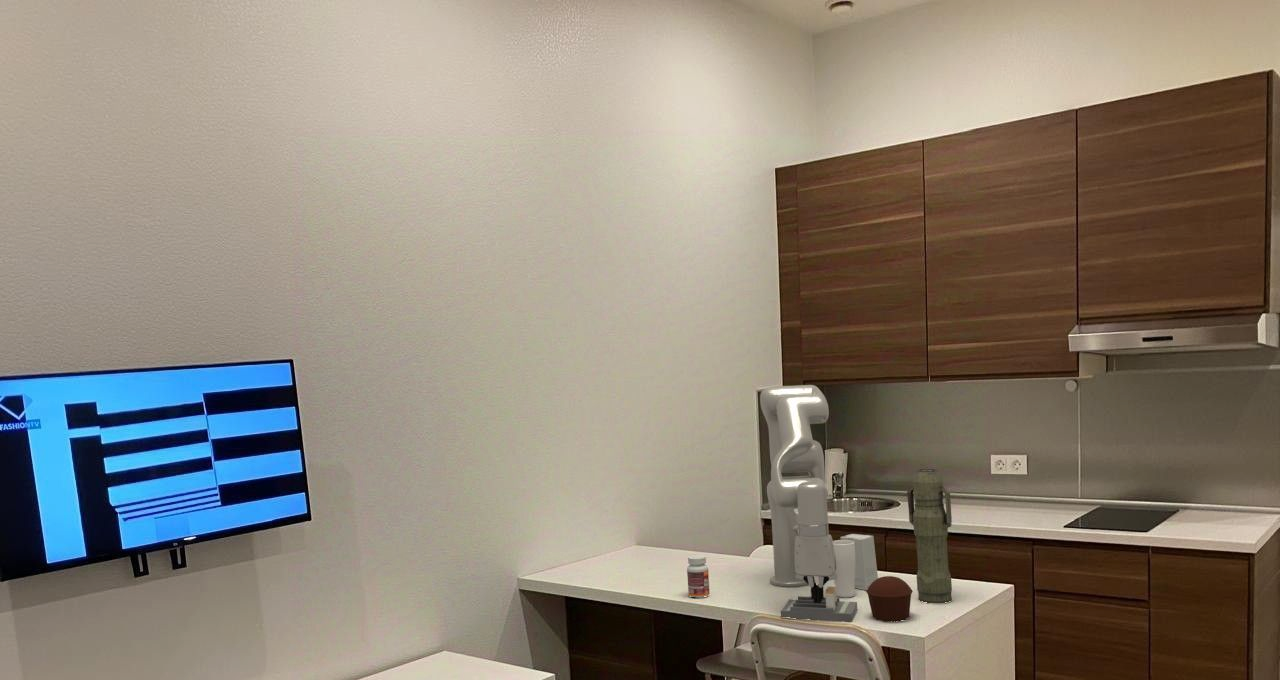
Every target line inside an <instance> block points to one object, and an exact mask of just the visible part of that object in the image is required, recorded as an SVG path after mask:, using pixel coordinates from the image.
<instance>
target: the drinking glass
mask: <svg viewBox="0 0 1280 680" xmlns="http://www.w3.org/2000/svg"><path fill="white" fill-rule="evenodd" d="M833 545H834V551H835V558H836V573H837V576H838V577H837V579H836V580H833V582H834V585H836V591H837V598H842V597H843V599H845V598H847V599H848V598H852V597H854V596H855V595H856V590H855V589H856V588H855V545H854V542H853V541H850V540H841V539H838V540H836V539H835V540H833Z"/></svg>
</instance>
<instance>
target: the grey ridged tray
mask: <svg viewBox="0 0 1280 680" xmlns="http://www.w3.org/2000/svg"><path fill="white" fill-rule="evenodd" d="M826 589H835V606H836V609H835V611H834V609H833V608H826V596H824V599H822V601H821V603H814V599H811V596H802V595H801V596H797V599H788V601H787V602H786V603H785V604H784V606H783V607H782V609H781V610H780V618H781V617H790V618H796V619H810V620H809V621H818V620H819V621H823V622H841V621H845V622H844V623H852V622H853V620H854V618H855V616H856V614H857V611H858V602H857V601H846V600H845V601H843V600H842V601H840V597H838V596H837V591H836V585H835V584H829V583H828V584H827V586H826Z"/></svg>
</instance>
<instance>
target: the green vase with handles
mask: <svg viewBox="0 0 1280 680" xmlns="http://www.w3.org/2000/svg"><path fill="white" fill-rule="evenodd" d="M912 484H913V485H912V486H910V487H908V490H907V491H906V495H907V506H908V517H909V518H908V521H909V523H910V524H911V525H912V526H913V535H914V536H915V541H916V555H917V569H918V570H917V573H916V589H917V592H918V601H919V600H920V601H919V602H921V601H923V602H927V603H926V604H929V603H945V602H949V601H951V600H952V601H953V597H952V591H953V589H952V588H953V587H952V584H953V583H952V575H951V572H950V570H949V557H948V541H947V539H948V535H949V528H951V527H952V523H953V522H952V521H953V520H952V516H953V515H952V504H951V503H952V502H951V492H950V491H949V489H948V488H947V487H944V486H943V480H942V476H941V474H940V471H939V470H937V469H934V468H921V469H918V470H917V471H915V473H914V476H913V482H912ZM944 495H945V496H944ZM944 497H945V498H944ZM944 499H945V500H944ZM914 500H915V501H914ZM944 501H945V505H944ZM952 601H951V602H952ZM923 602H922V603H923ZM949 603H950V602H949ZM945 604H946V603H945Z"/></svg>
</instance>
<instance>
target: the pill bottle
mask: <svg viewBox="0 0 1280 680" xmlns="http://www.w3.org/2000/svg"><path fill="white" fill-rule="evenodd" d="M687 560H688V562H687V563H688V564H689V565H688V566H687V567H686V573H687V590H688V592H687V593H688V596H691V597H704V596H708V595H709V594H710V593H711V592H710V579H709V577H710V576H709V567H708V565H706V563H707V558H706V556H705V555H703V554H701V555H700V554H695V555H693V554H692V555H690V556H687ZM709 596H710V595H709ZM709 596H708V597H709ZM691 597H690V598H691Z"/></svg>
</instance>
